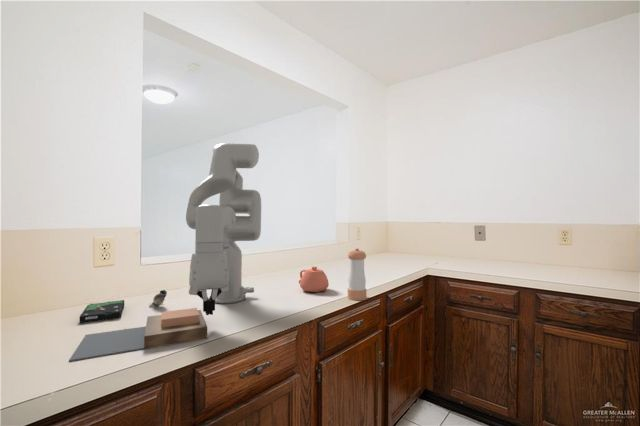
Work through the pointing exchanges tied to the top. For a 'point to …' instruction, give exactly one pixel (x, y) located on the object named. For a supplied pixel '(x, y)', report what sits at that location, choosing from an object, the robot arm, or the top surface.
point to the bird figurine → (158, 299)
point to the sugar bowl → (313, 280)
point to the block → (179, 317)
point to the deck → (173, 332)
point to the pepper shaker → (357, 276)
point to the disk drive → (102, 311)
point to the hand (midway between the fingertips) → (209, 313)
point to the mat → (109, 343)
